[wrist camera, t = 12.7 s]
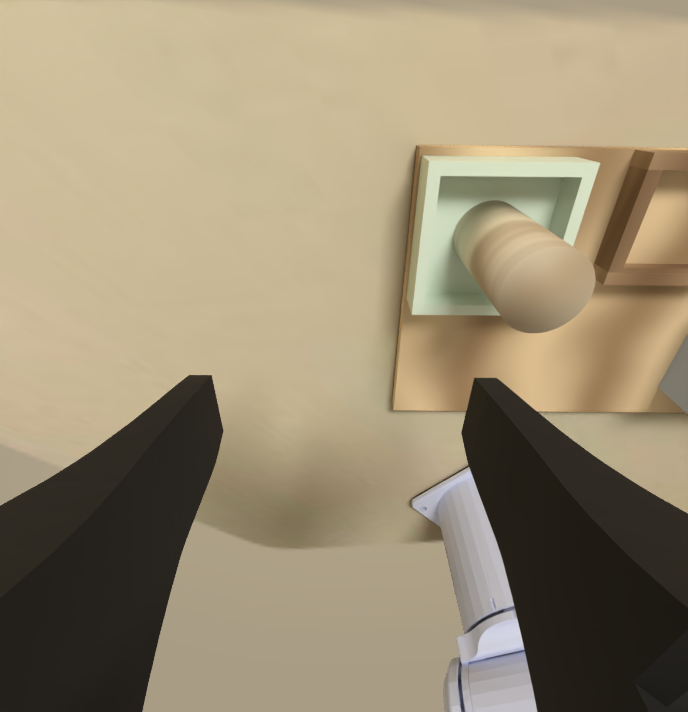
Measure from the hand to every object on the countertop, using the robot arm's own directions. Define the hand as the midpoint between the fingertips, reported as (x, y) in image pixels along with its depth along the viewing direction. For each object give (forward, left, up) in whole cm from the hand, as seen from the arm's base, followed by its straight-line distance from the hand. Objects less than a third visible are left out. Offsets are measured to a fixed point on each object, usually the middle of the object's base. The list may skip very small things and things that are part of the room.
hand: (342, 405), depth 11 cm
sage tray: (-3, -6, -10) cm, 12 cm away
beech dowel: (-3, -6, -9) cm, 11 cm away
